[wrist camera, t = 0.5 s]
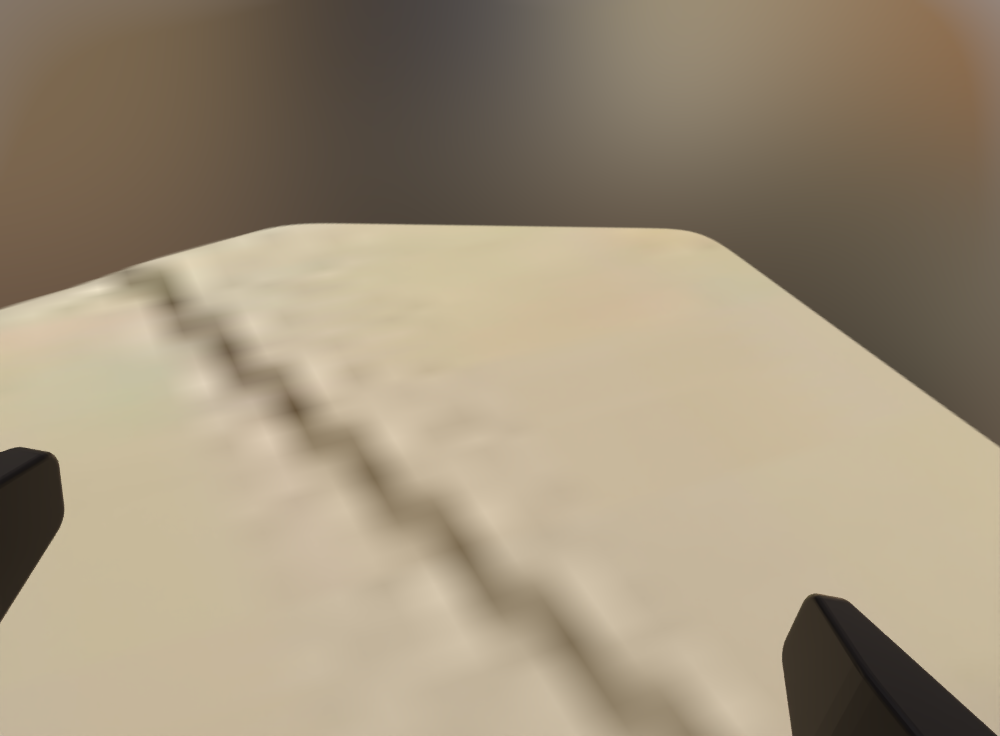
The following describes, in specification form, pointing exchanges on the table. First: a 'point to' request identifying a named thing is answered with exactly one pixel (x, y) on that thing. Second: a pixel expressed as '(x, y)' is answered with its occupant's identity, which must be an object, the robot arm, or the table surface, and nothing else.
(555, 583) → the table surface
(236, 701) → the table surface
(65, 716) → the table surface
